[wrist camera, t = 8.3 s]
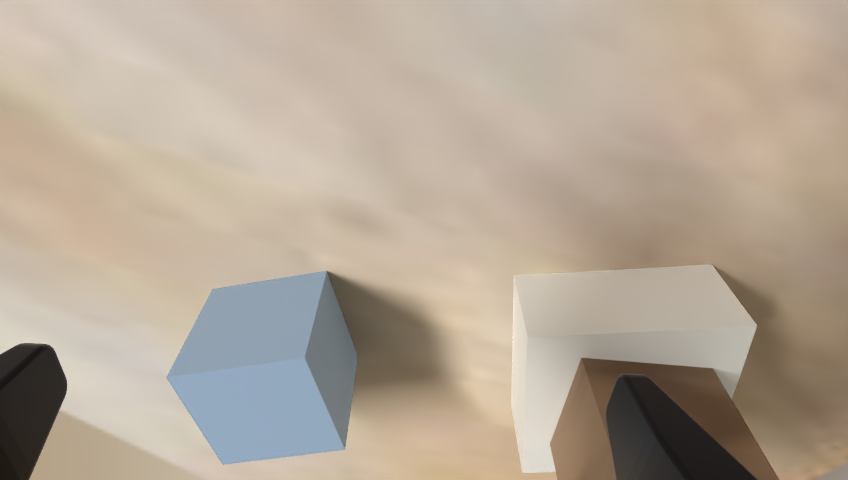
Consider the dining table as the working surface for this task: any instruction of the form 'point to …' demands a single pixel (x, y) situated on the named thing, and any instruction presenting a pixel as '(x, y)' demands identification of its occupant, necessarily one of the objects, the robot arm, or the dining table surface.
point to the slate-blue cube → (269, 370)
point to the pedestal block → (615, 336)
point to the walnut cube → (688, 386)
